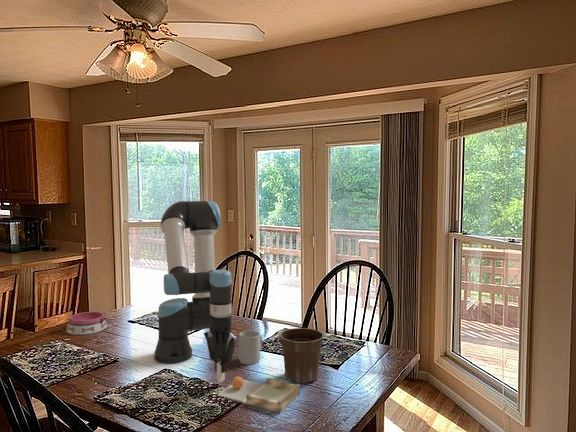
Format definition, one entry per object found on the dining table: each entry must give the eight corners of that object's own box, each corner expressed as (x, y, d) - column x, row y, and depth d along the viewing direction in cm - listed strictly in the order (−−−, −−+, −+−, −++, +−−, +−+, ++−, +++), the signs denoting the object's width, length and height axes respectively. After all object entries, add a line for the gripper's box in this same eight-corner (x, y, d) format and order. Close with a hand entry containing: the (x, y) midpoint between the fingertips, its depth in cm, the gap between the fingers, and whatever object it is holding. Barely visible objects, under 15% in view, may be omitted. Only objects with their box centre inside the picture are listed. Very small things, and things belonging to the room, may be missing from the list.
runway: (217, 396, 150) (217, 394, 150) (240, 380, 162) (240, 378, 162) (280, 413, 139) (280, 411, 139) (299, 394, 151) (299, 392, 151)
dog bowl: (97, 336, 209) (97, 321, 209) (58, 335, 209) (58, 321, 209) (113, 323, 228) (113, 310, 227) (77, 323, 228) (76, 310, 227)
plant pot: (280, 367, 174) (280, 326, 173) (322, 368, 173) (322, 327, 172) (278, 386, 158) (278, 341, 157) (324, 387, 157) (324, 342, 156)
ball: (229, 389, 154) (229, 378, 153) (235, 384, 157) (235, 373, 157) (239, 391, 152) (239, 380, 151) (245, 387, 155) (245, 376, 155)
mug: (251, 366, 175) (251, 338, 174) (234, 361, 179) (234, 334, 179) (269, 356, 185) (269, 330, 184) (252, 352, 189) (252, 327, 189)
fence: (246, 403, 145) (246, 393, 144) (267, 386, 157) (267, 377, 157) (280, 413, 139) (280, 402, 139) (299, 394, 151) (299, 384, 151)
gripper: (198, 314, 155) (199, 380, 157) (229, 320, 150) (230, 388, 151) (212, 309, 162) (212, 373, 164) (242, 314, 156) (242, 380, 158)
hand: (220, 380), depth 157 cm, fingers closed
